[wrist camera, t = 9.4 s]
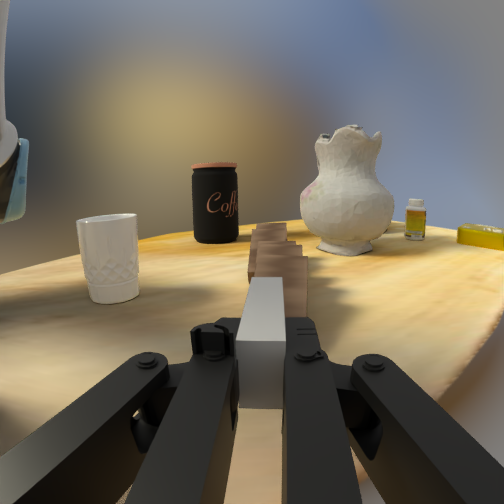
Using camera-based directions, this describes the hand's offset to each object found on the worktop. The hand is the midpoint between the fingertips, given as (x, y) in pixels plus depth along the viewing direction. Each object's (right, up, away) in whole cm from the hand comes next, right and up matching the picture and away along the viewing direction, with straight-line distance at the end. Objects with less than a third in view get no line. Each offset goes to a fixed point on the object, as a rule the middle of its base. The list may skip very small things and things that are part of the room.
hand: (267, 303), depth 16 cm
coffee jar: (-9, +5, +59) cm, 60 cm away
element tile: (+61, +4, +51) cm, 80 cm away
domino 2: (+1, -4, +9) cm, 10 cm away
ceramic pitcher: (+18, +3, +48) cm, 52 cm away
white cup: (-18, -3, +22) cm, 29 cm away
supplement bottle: (+41, +6, +57) cm, 70 cm away
